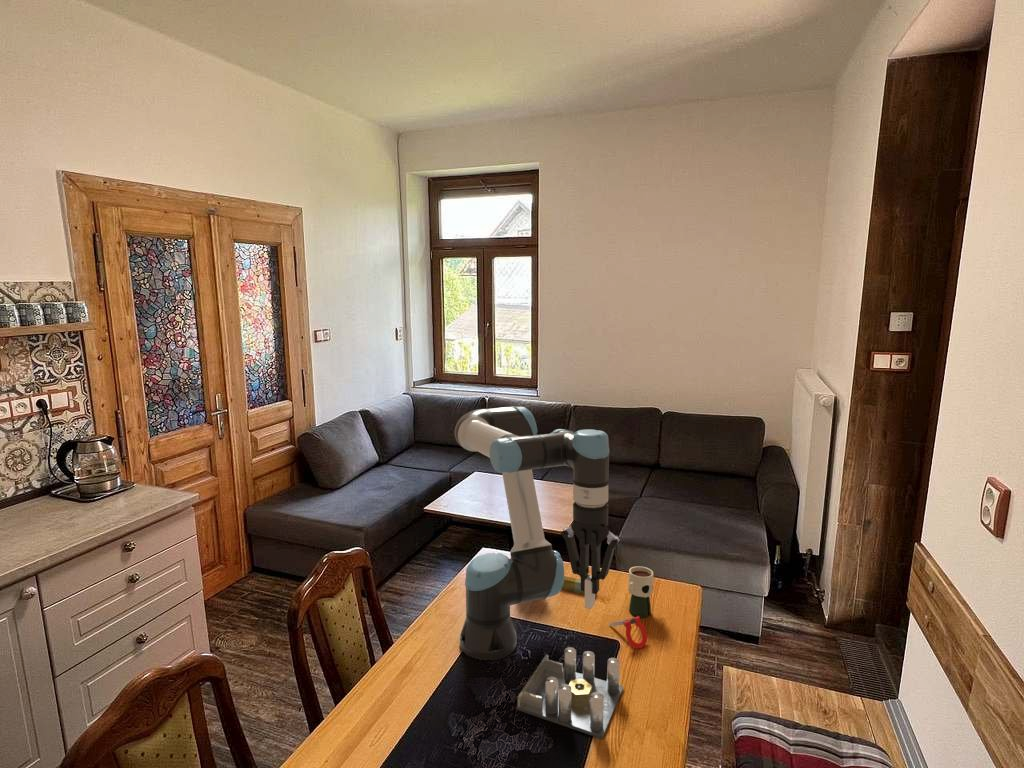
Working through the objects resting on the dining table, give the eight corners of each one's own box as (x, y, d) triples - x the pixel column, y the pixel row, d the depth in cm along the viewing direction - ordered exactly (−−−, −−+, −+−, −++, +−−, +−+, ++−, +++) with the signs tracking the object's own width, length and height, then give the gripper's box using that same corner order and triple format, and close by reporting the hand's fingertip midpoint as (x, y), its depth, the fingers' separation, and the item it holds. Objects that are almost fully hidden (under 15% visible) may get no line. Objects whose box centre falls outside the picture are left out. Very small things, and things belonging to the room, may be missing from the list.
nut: (564, 703, 127) (565, 691, 126) (573, 687, 132) (573, 676, 131) (586, 710, 124) (586, 698, 124) (593, 694, 130) (594, 682, 129)
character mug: (639, 625, 159) (640, 582, 157) (618, 615, 164) (619, 573, 162) (660, 611, 166) (662, 570, 164) (640, 601, 171) (641, 561, 169)
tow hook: (633, 651, 146) (623, 622, 148) (609, 653, 154) (600, 626, 156) (651, 643, 149) (641, 614, 152) (627, 645, 157) (618, 618, 160)
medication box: (595, 595, 176) (596, 582, 175) (593, 598, 173) (594, 585, 173) (559, 586, 180) (560, 574, 180) (556, 589, 178) (557, 577, 178)
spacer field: (516, 709, 126) (516, 677, 125) (545, 665, 141) (545, 637, 140) (602, 739, 117) (603, 705, 116) (623, 689, 132) (624, 659, 131)
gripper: (555, 503, 120) (555, 607, 123) (615, 512, 114) (613, 621, 117) (568, 493, 127) (568, 591, 129) (625, 501, 121) (623, 604, 124)
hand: (589, 605), depth 123 cm, fingers closed
